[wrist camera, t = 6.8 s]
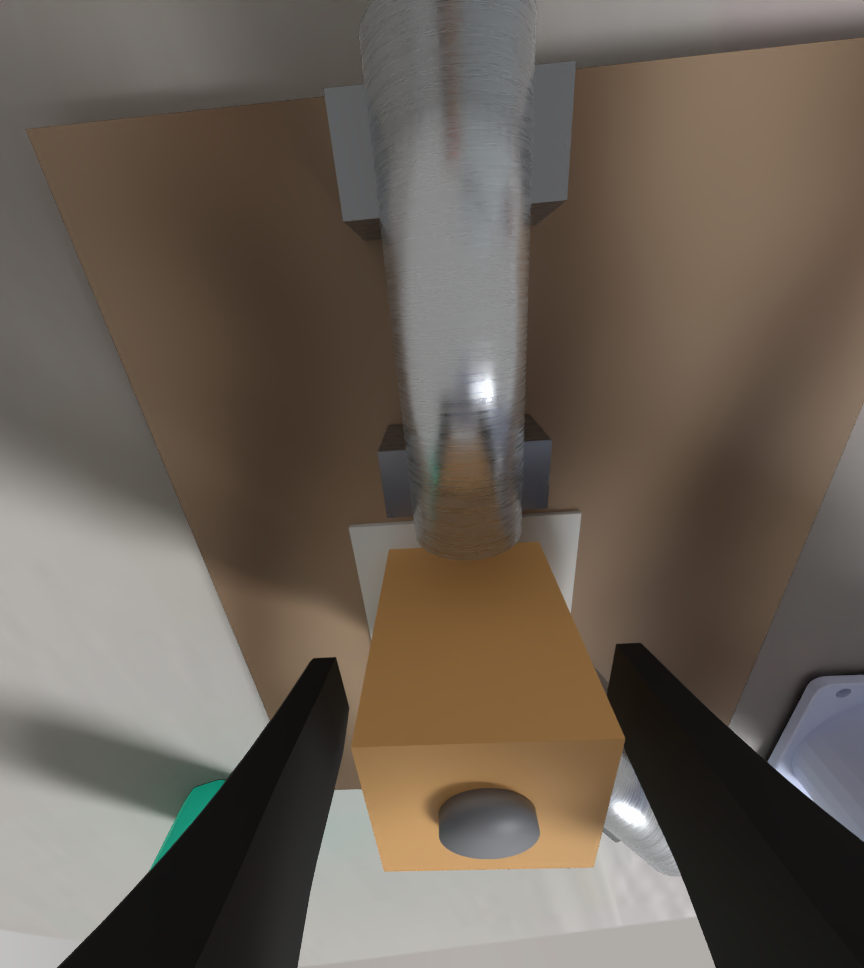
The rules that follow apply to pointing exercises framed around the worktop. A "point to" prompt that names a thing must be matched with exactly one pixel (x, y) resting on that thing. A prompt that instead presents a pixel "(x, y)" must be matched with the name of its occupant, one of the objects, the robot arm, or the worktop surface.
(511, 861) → the tan wooden block
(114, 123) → the board
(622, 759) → the shaft
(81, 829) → the worktop surface
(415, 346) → the shaft
